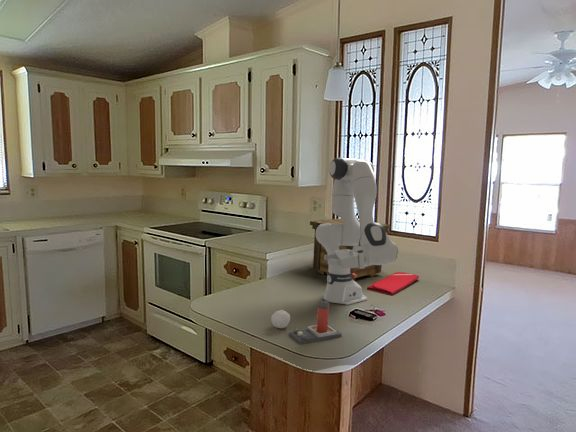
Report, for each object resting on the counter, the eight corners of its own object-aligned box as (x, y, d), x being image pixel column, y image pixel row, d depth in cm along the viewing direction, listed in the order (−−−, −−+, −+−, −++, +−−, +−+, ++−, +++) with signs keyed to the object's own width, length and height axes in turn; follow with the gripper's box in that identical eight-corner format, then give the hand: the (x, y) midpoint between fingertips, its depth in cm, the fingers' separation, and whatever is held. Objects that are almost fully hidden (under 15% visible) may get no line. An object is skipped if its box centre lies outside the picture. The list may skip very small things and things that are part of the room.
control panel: (329, 328, 174) (329, 322, 173) (341, 336, 166) (341, 330, 165) (289, 334, 165) (289, 329, 165) (299, 344, 157) (300, 338, 157)
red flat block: (365, 290, 231) (366, 283, 230) (395, 276, 263) (395, 270, 263) (392, 296, 221) (393, 289, 221) (419, 281, 254) (419, 275, 253)
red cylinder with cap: (323, 328, 170) (325, 299, 168) (329, 332, 166) (331, 303, 164) (314, 329, 167) (316, 301, 166) (320, 333, 164) (322, 304, 162)
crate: (350, 285, 237) (354, 229, 232) (307, 272, 262) (310, 221, 258) (386, 276, 260) (389, 224, 256) (343, 264, 286) (346, 217, 281)
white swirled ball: (288, 324, 176) (289, 306, 175) (291, 331, 169) (292, 313, 168) (270, 324, 175) (270, 306, 174) (271, 331, 168) (272, 313, 167)
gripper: (353, 244, 183) (322, 248, 182) (363, 253, 162) (328, 257, 162) (354, 258, 183) (323, 262, 183) (365, 269, 163) (330, 273, 162)
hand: (326, 260), depth 172 cm, fingers open, 8 cm apart
